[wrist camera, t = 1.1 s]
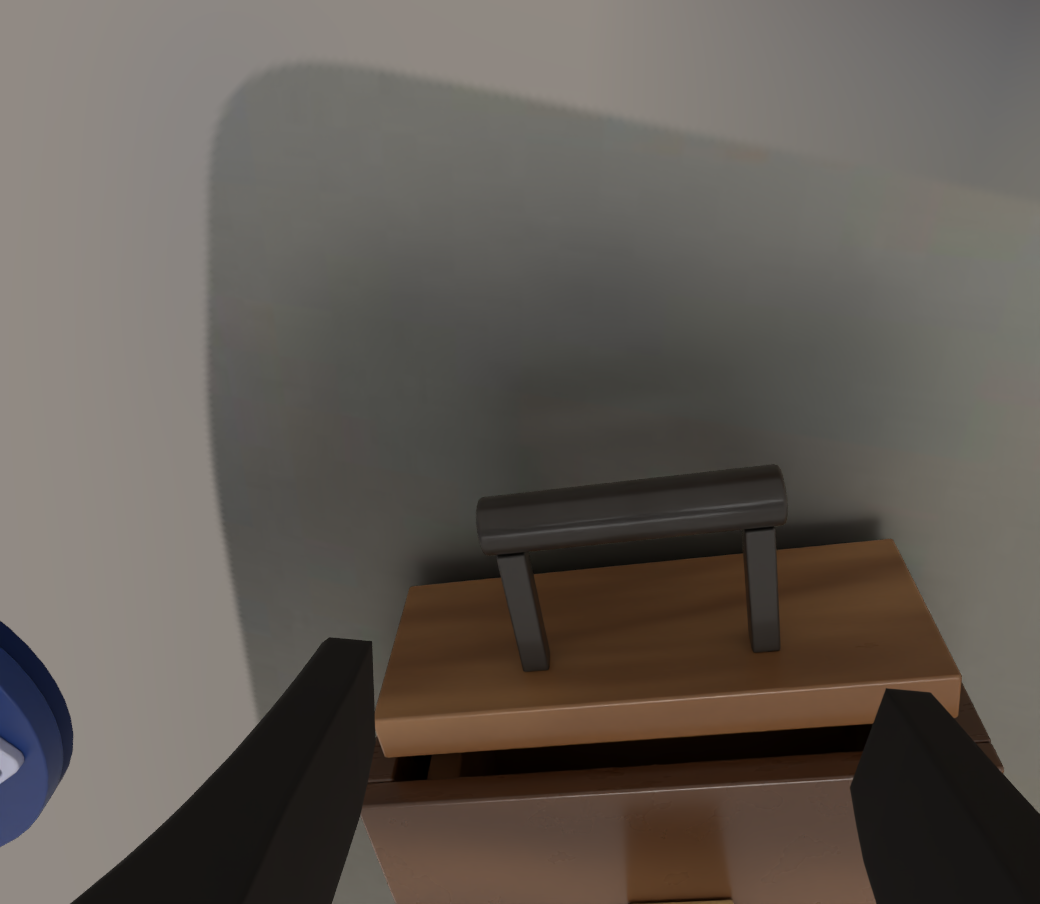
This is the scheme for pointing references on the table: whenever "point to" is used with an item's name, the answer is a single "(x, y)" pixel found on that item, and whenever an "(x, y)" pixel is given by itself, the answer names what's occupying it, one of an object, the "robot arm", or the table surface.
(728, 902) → the red striped tan block
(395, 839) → the cabinet
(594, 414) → the table surface
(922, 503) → the table surface
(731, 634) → the drawer
